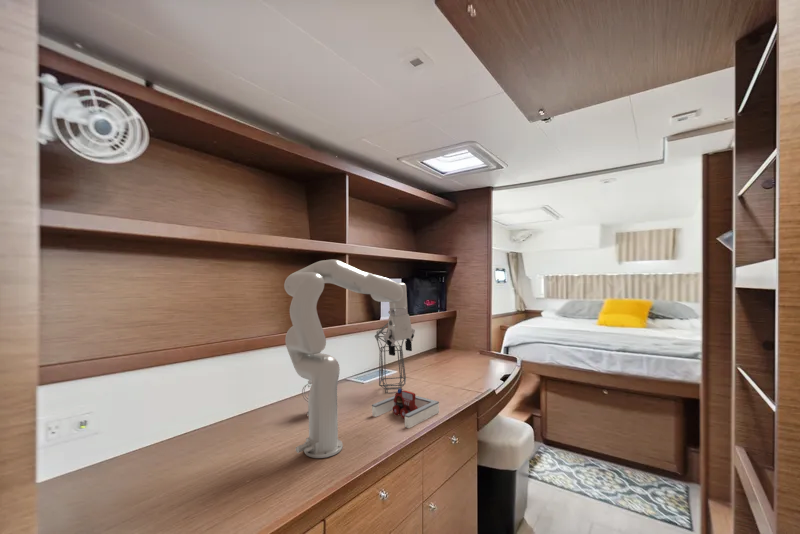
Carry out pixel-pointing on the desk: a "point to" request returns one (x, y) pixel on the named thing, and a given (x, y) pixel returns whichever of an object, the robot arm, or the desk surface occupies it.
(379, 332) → the geometric lantern
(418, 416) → the white u-shaped wall
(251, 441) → the desk surface
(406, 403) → the toy fire truck
